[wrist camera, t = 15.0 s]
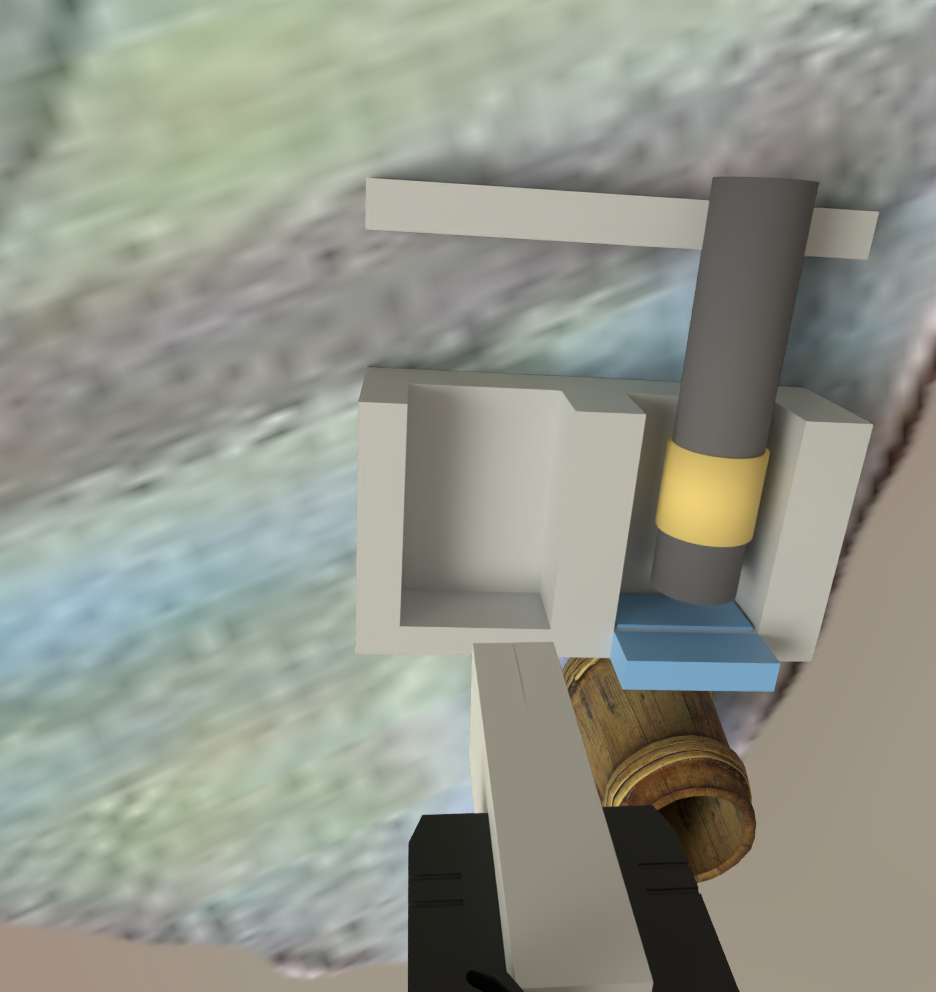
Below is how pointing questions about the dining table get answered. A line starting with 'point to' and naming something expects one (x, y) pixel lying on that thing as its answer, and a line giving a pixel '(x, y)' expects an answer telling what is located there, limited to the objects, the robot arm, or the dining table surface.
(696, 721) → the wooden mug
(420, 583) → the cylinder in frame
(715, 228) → the rod
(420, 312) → the dining table surface
